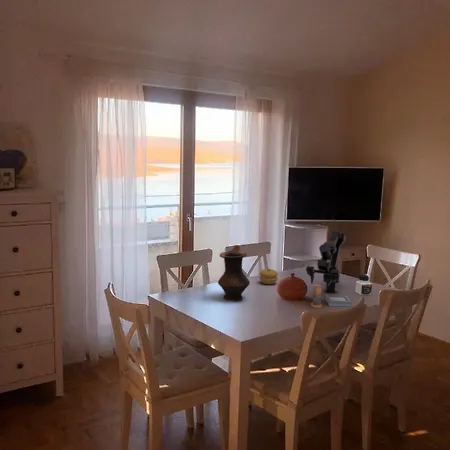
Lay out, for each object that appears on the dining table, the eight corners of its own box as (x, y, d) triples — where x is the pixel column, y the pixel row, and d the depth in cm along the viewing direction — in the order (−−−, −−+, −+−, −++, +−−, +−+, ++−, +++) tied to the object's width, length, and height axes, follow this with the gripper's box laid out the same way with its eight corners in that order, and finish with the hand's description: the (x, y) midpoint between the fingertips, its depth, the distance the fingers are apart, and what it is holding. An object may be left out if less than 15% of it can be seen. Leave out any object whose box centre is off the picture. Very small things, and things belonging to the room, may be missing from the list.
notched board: (325, 299, 295) (325, 294, 294) (346, 300, 294) (346, 295, 294) (329, 306, 283) (329, 300, 282) (350, 306, 283) (350, 301, 282)
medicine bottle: (361, 295, 305) (362, 276, 303) (355, 292, 312) (356, 273, 310) (371, 294, 307) (372, 275, 305) (365, 291, 314) (366, 273, 312)
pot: (257, 284, 323) (257, 269, 321) (261, 280, 334) (262, 265, 333) (275, 286, 320) (276, 271, 318) (278, 282, 331) (279, 267, 329)
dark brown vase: (246, 304, 281) (248, 252, 277) (214, 301, 285) (215, 250, 280) (252, 294, 302) (253, 245, 297) (222, 291, 305) (223, 243, 301)
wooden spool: (309, 304, 285) (310, 284, 283) (319, 304, 286) (321, 283, 284) (313, 308, 278) (314, 287, 276) (324, 307, 280) (325, 286, 278)
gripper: (307, 252, 290) (301, 274, 282) (339, 256, 282) (334, 279, 274) (310, 263, 298) (304, 285, 290) (342, 266, 291) (336, 289, 282)
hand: (319, 284), depth 284 cm, fingers open, 9 cm apart
